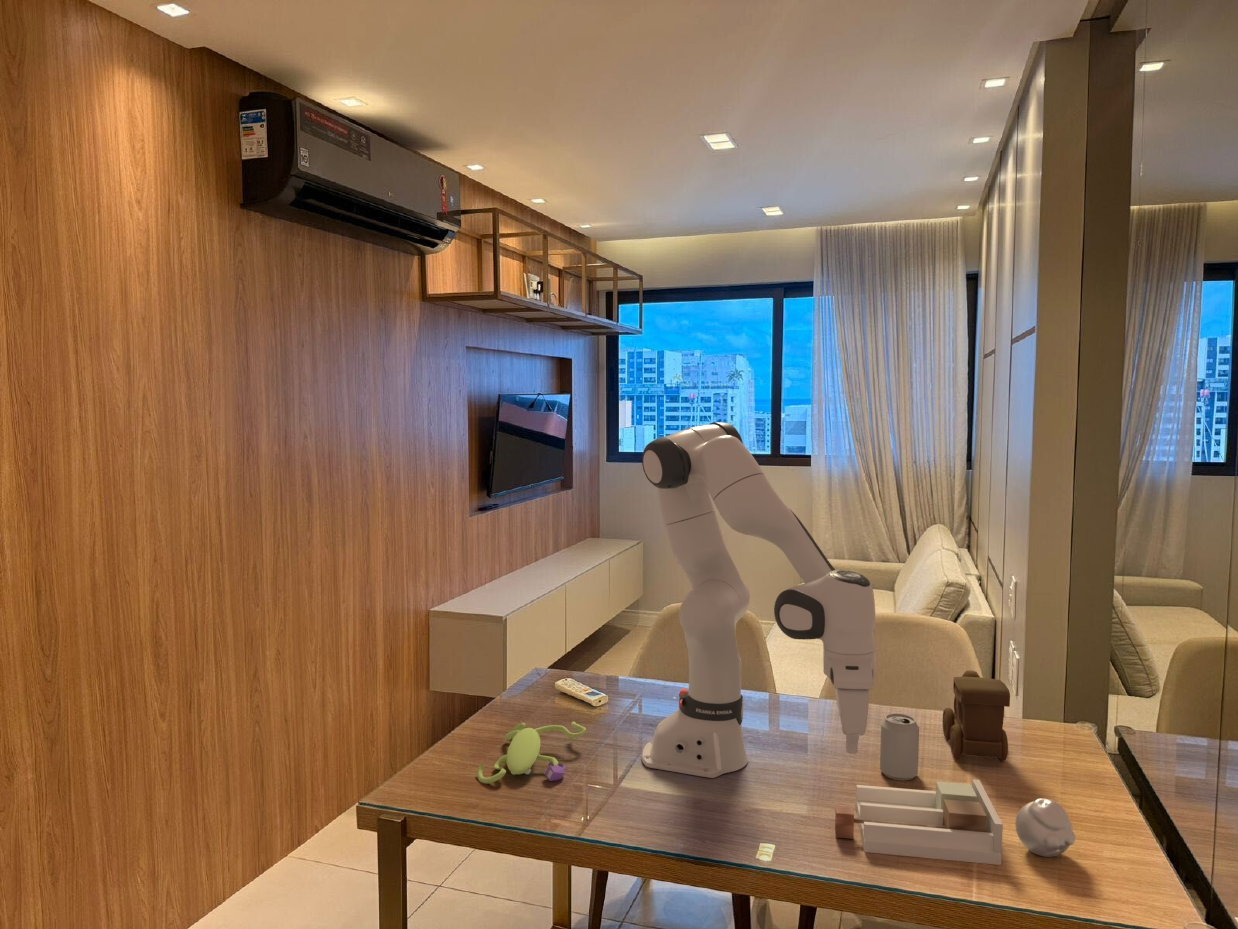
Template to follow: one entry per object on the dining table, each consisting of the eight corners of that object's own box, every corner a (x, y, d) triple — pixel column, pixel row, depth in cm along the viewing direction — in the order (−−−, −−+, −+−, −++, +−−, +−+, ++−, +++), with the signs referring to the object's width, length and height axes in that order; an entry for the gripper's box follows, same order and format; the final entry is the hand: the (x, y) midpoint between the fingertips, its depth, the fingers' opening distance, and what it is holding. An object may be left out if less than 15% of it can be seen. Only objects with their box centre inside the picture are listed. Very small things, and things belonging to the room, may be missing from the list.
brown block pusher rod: (836, 840, 150) (837, 803, 150) (834, 826, 155) (835, 790, 155) (985, 854, 146) (986, 816, 146) (978, 839, 151) (979, 802, 150)
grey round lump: (1014, 862, 144) (1017, 804, 144) (1014, 836, 153) (1016, 781, 152) (1075, 874, 141) (1078, 815, 140) (1071, 846, 149) (1073, 791, 149)
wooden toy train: (1012, 771, 179) (1015, 693, 178) (954, 766, 182) (956, 689, 180) (991, 735, 199) (994, 664, 198) (939, 730, 201) (941, 661, 200)
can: (920, 784, 174) (922, 726, 173) (881, 780, 175) (883, 723, 174) (915, 768, 181) (916, 712, 180) (878, 765, 182) (879, 709, 181)
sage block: (940, 820, 154) (941, 793, 154) (935, 807, 159) (936, 781, 159) (975, 823, 153) (976, 796, 153) (969, 810, 158) (970, 784, 158)
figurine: (591, 741, 195) (591, 717, 195) (558, 794, 169) (558, 767, 169) (513, 734, 199) (513, 711, 199) (470, 785, 173) (469, 758, 173)
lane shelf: (864, 852, 147) (865, 812, 147) (855, 805, 164) (856, 770, 163) (1001, 865, 143) (1002, 824, 143) (977, 816, 160) (979, 779, 160)
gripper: (827, 647, 162) (827, 719, 163) (834, 681, 142) (834, 763, 143) (861, 648, 161) (862, 720, 162) (874, 683, 141) (874, 765, 142)
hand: (849, 741), depth 152 cm, fingers open, 8 cm apart
